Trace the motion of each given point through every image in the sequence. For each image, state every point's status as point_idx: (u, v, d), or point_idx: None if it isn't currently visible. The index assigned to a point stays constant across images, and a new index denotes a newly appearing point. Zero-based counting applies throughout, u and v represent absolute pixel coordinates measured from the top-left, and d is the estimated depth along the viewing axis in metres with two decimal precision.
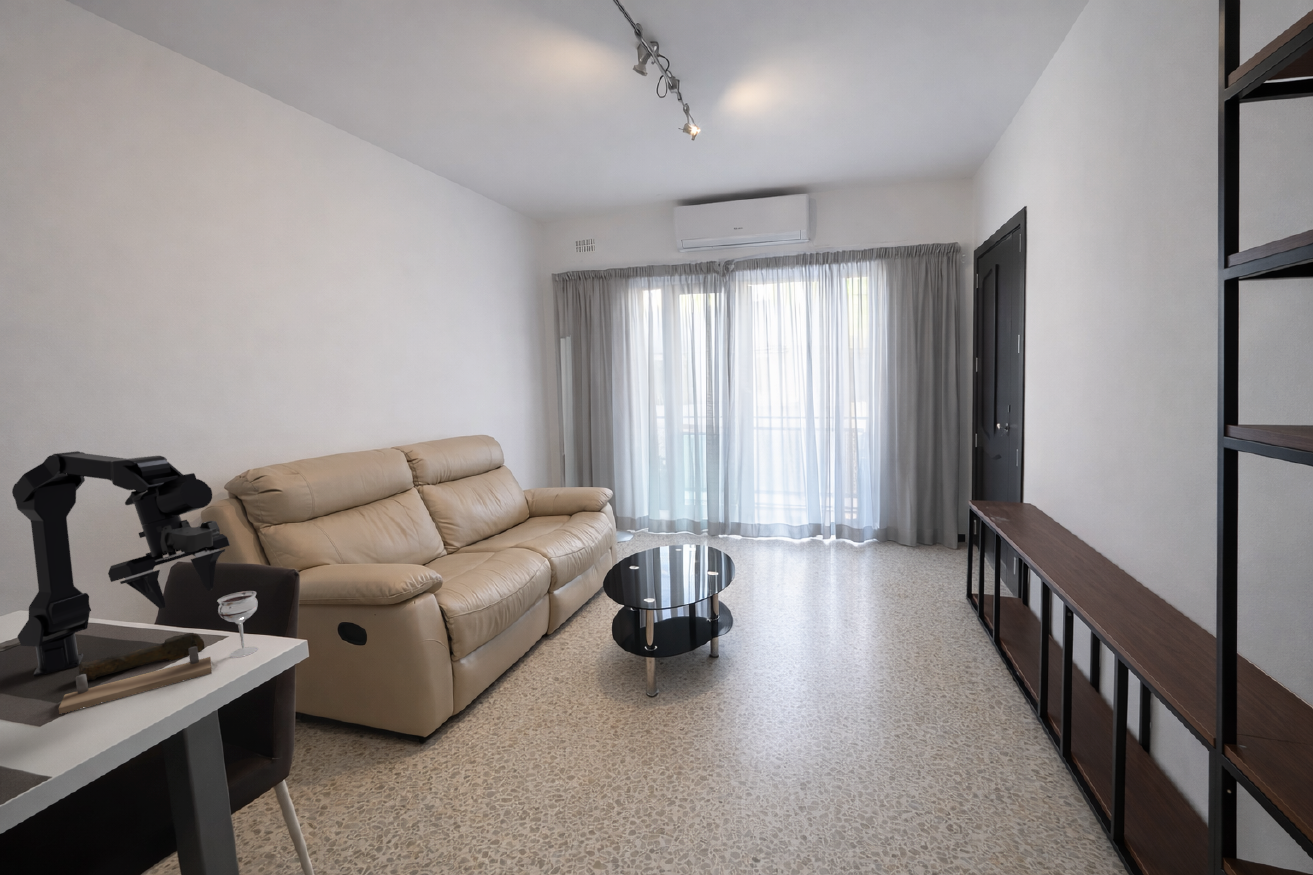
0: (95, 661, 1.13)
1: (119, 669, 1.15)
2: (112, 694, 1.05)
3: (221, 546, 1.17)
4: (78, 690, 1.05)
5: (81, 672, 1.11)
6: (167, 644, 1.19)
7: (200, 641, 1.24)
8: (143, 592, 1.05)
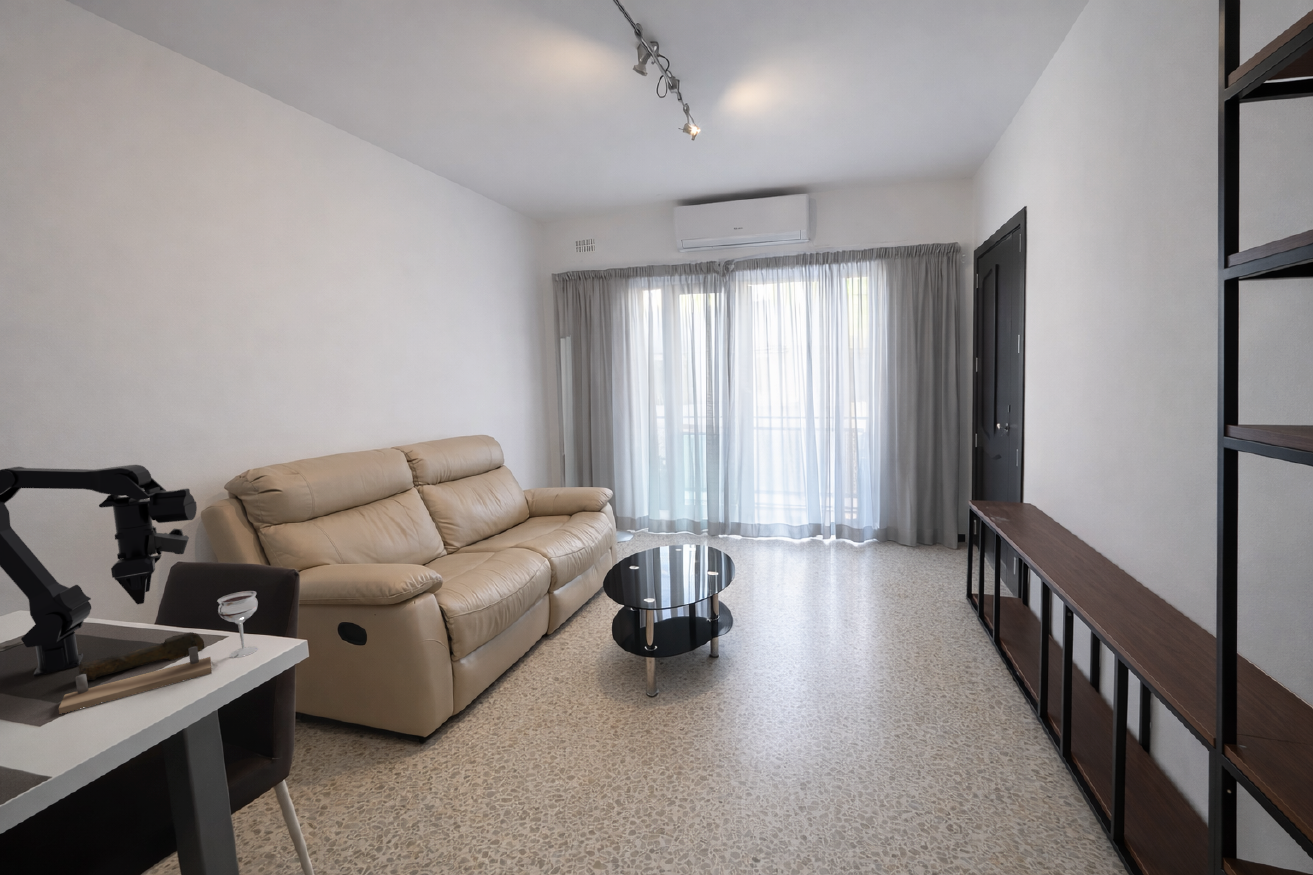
0: (95, 661, 1.13)
1: (119, 669, 1.15)
2: (112, 694, 1.05)
3: (161, 552, 1.30)
4: (78, 690, 1.05)
5: (81, 672, 1.11)
6: (167, 644, 1.20)
7: (200, 640, 1.24)
8: (129, 589, 1.17)
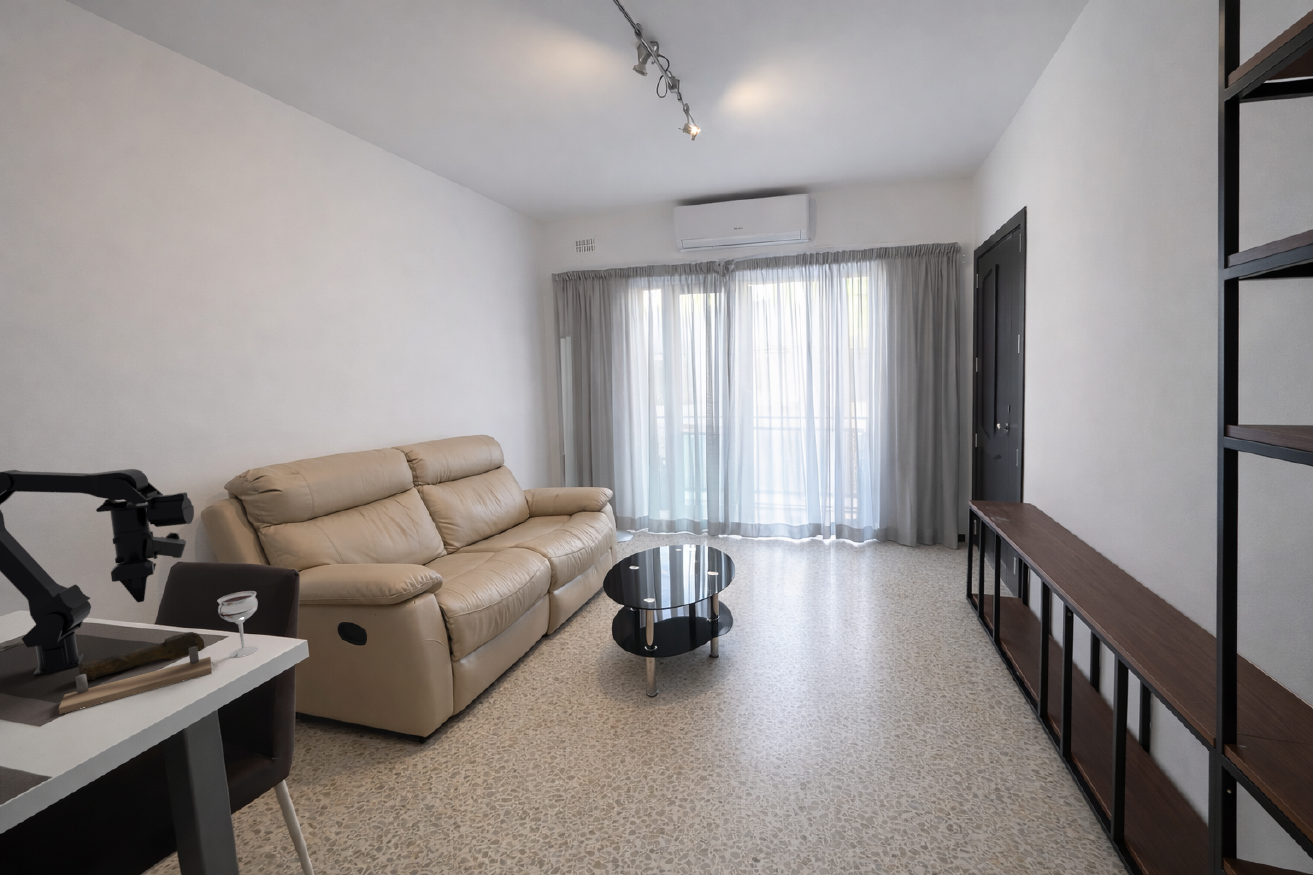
0: (95, 661, 1.13)
1: (119, 669, 1.15)
2: (112, 694, 1.05)
3: (157, 556, 1.30)
4: (78, 690, 1.05)
5: (82, 672, 1.11)
6: (167, 643, 1.20)
7: (200, 640, 1.24)
8: (130, 587, 1.21)
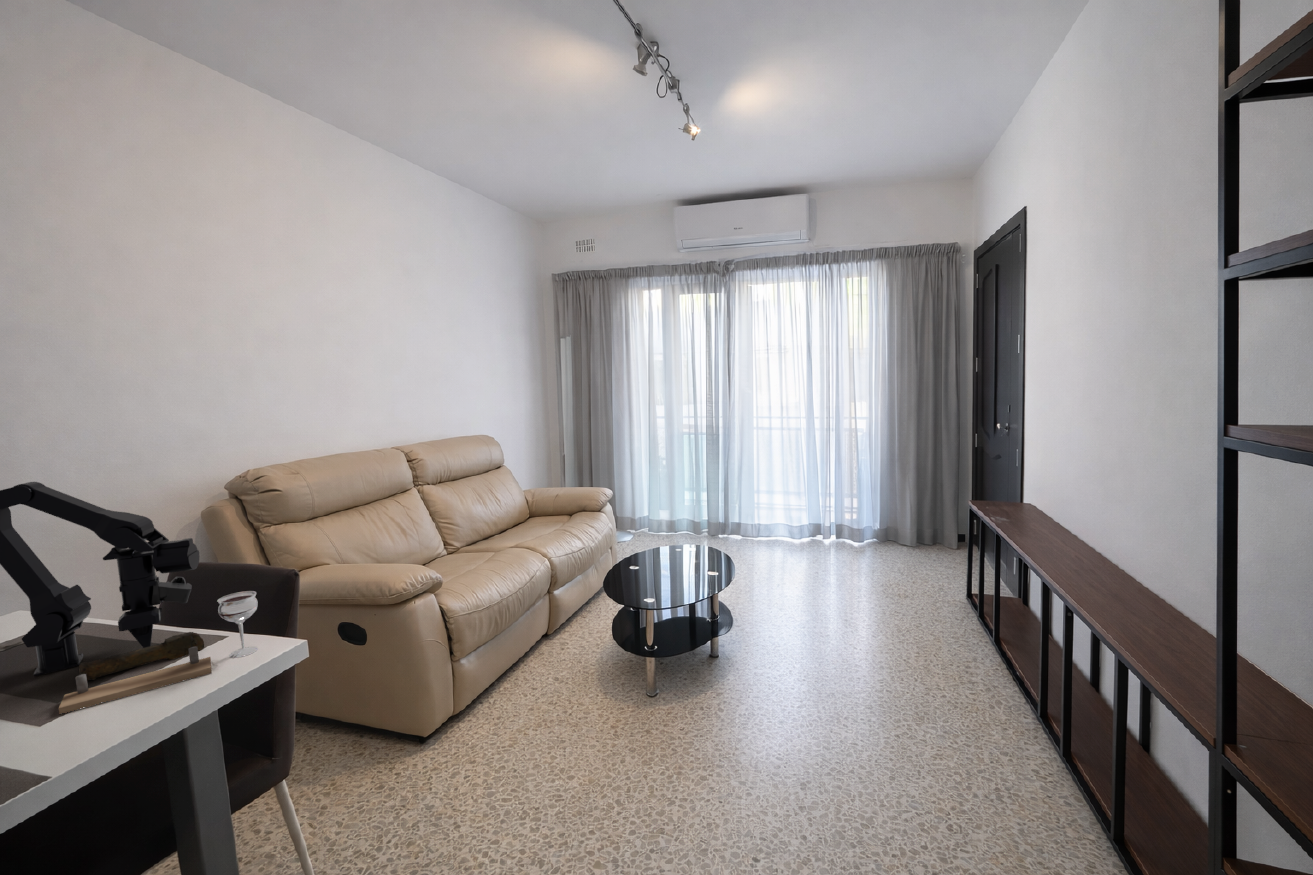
0: (95, 662, 1.13)
1: (119, 669, 1.15)
2: (112, 694, 1.05)
3: None
4: (78, 690, 1.05)
5: (82, 672, 1.11)
6: (167, 643, 1.20)
7: (200, 640, 1.24)
8: (136, 634, 1.22)
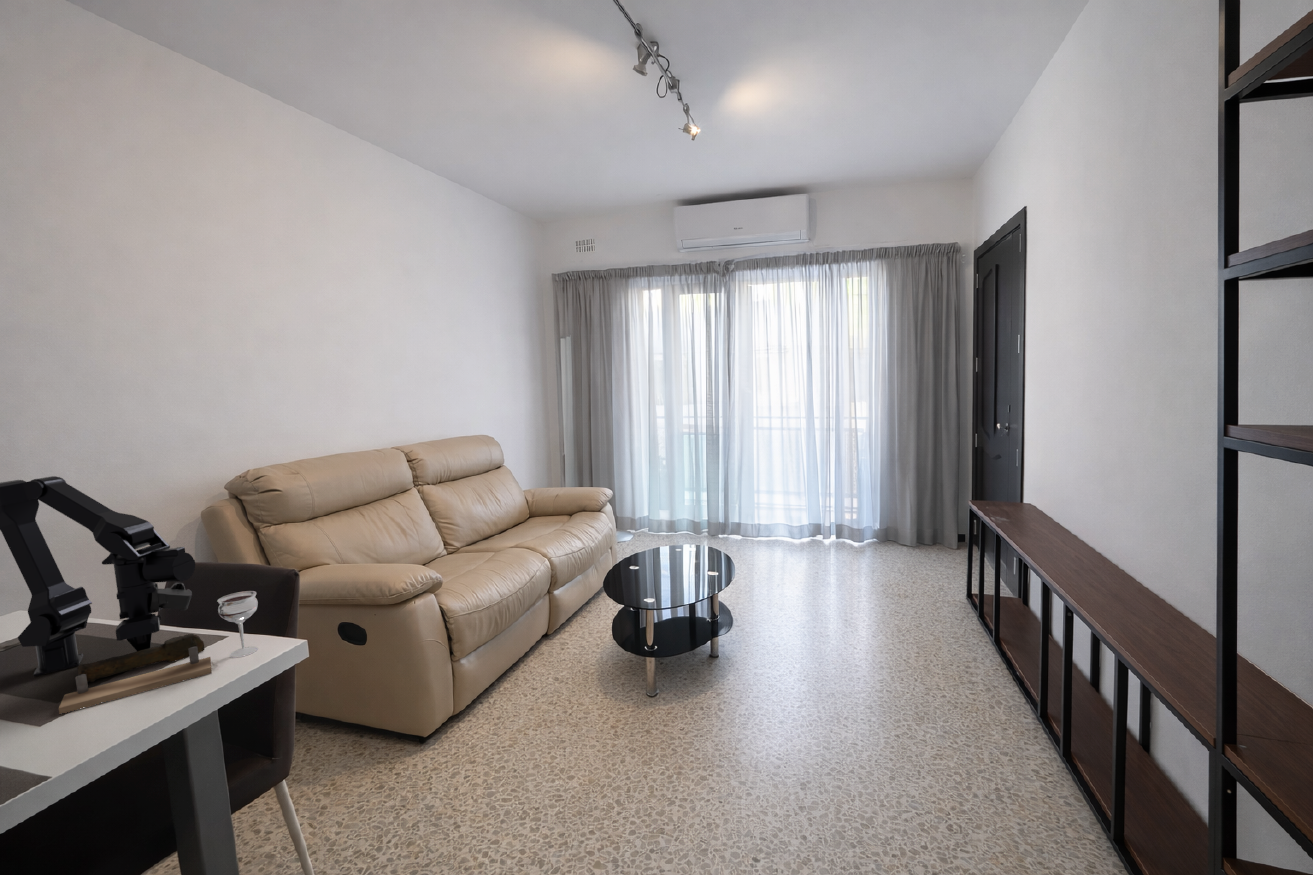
0: (94, 663, 1.12)
1: (119, 671, 1.14)
2: (112, 694, 1.05)
3: None
4: (78, 690, 1.05)
5: (80, 674, 1.10)
6: (167, 645, 1.19)
7: (200, 642, 1.23)
8: (134, 642, 1.17)
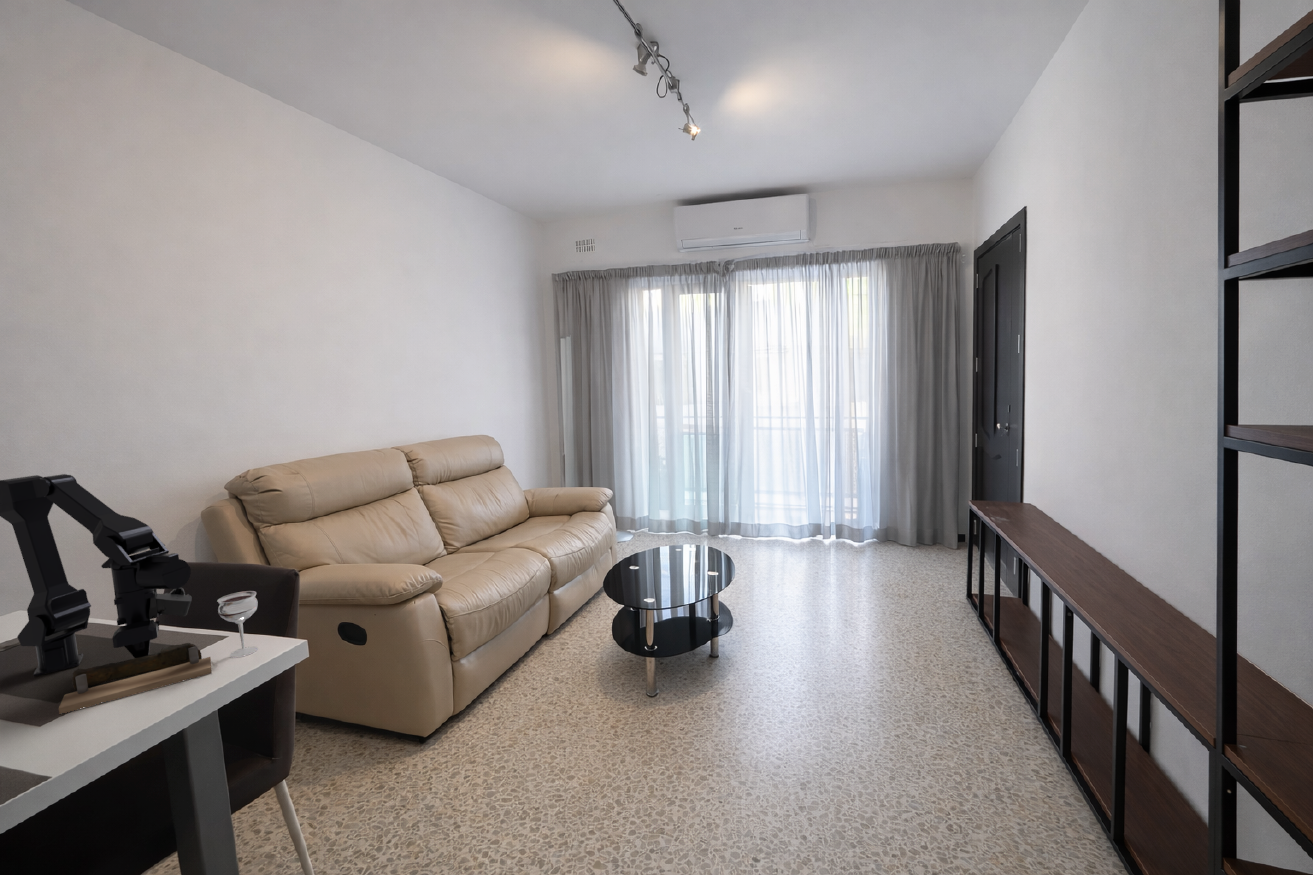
0: (89, 669, 1.10)
1: (112, 678, 1.11)
2: (112, 694, 1.05)
3: None
4: (78, 690, 1.05)
5: (73, 680, 1.08)
6: (162, 654, 1.15)
7: None
8: (132, 649, 1.14)
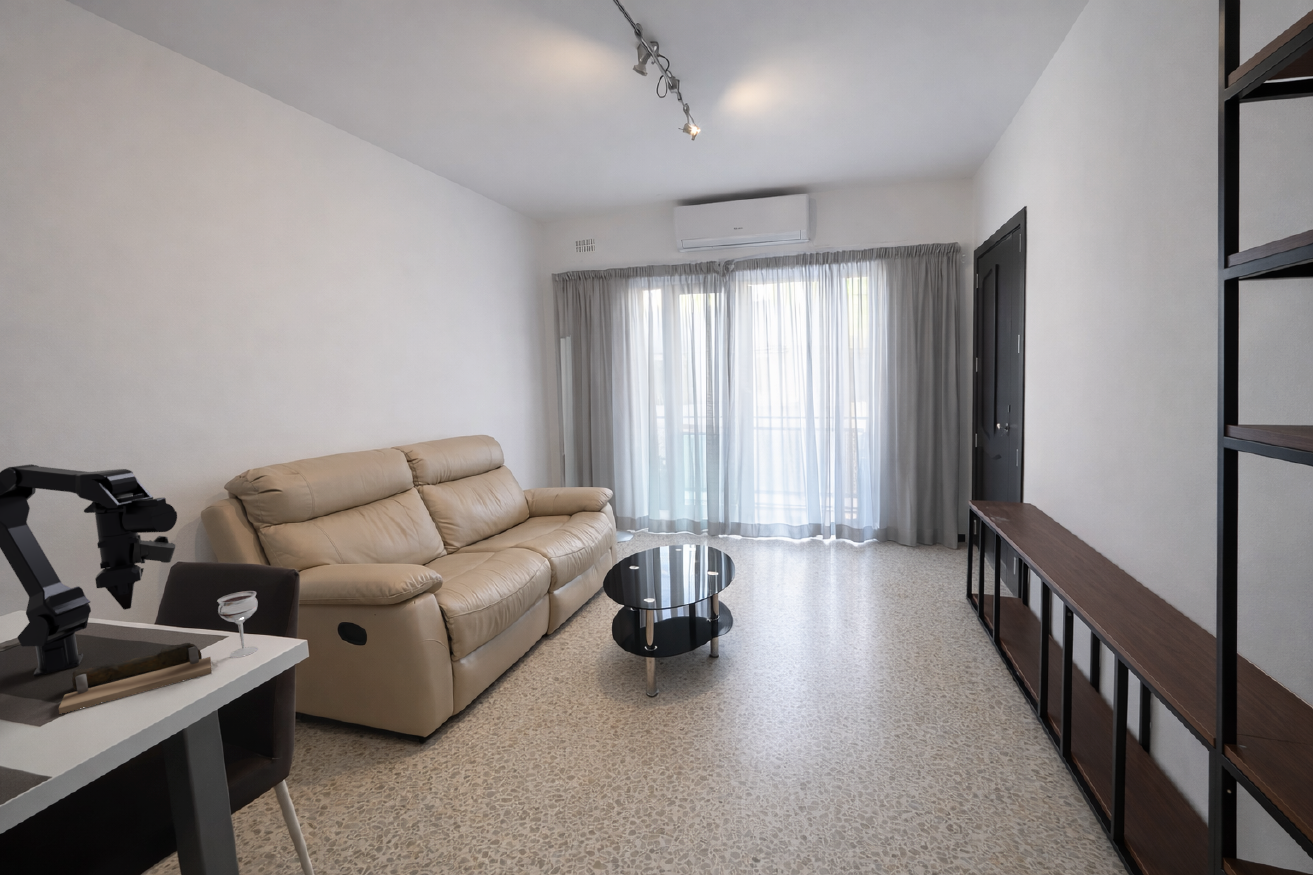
0: (89, 670, 1.10)
1: (112, 679, 1.11)
2: (112, 694, 1.05)
3: None
4: (78, 690, 1.05)
5: (73, 681, 1.08)
6: (162, 654, 1.15)
7: None
8: (115, 593, 1.15)
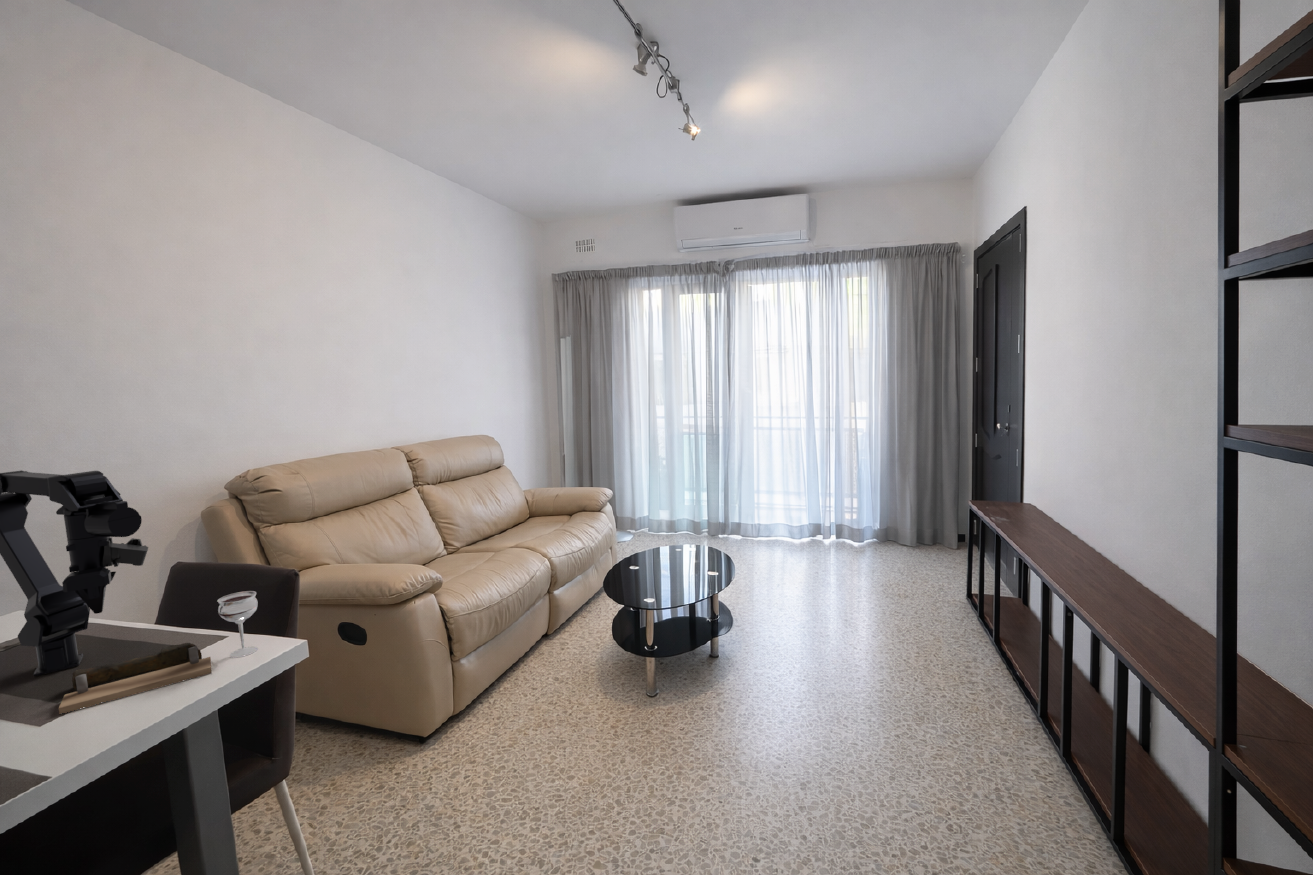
0: (89, 670, 1.10)
1: (113, 679, 1.11)
2: (112, 694, 1.05)
3: (118, 563, 1.22)
4: (78, 690, 1.05)
5: (73, 681, 1.08)
6: (162, 654, 1.15)
7: None
8: (86, 597, 1.13)
